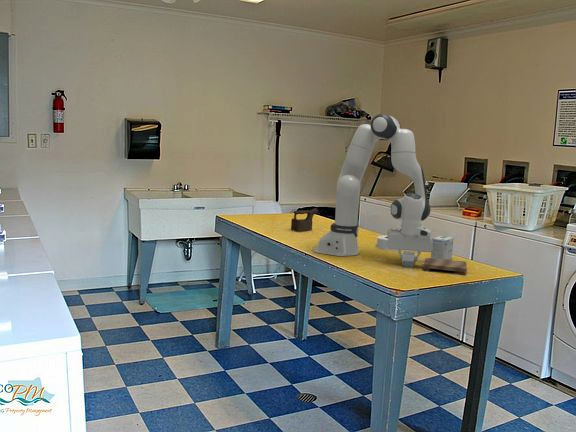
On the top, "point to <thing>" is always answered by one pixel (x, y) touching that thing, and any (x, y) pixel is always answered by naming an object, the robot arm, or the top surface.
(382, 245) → the roll of tape
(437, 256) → the light bulb box
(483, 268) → the top surface
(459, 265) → the stand
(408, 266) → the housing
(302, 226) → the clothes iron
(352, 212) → the robot arm
